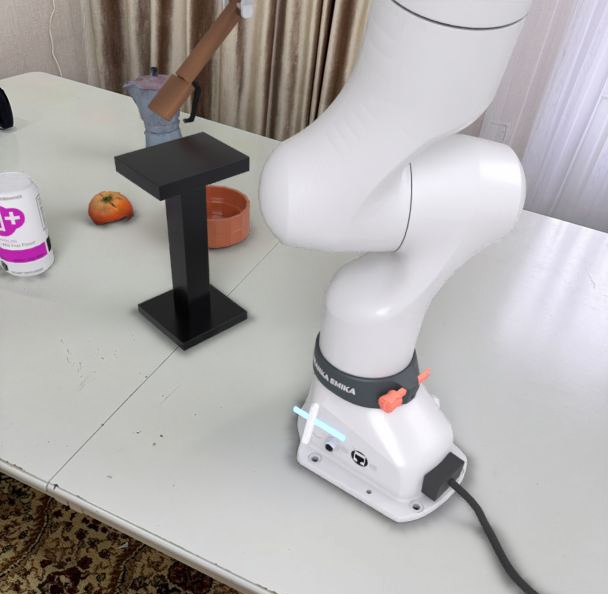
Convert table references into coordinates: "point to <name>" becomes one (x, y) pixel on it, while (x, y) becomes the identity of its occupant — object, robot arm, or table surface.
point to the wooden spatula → (193, 65)
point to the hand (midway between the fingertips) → (237, 14)
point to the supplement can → (23, 227)
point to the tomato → (109, 207)
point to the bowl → (226, 216)
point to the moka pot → (155, 125)
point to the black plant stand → (186, 232)
